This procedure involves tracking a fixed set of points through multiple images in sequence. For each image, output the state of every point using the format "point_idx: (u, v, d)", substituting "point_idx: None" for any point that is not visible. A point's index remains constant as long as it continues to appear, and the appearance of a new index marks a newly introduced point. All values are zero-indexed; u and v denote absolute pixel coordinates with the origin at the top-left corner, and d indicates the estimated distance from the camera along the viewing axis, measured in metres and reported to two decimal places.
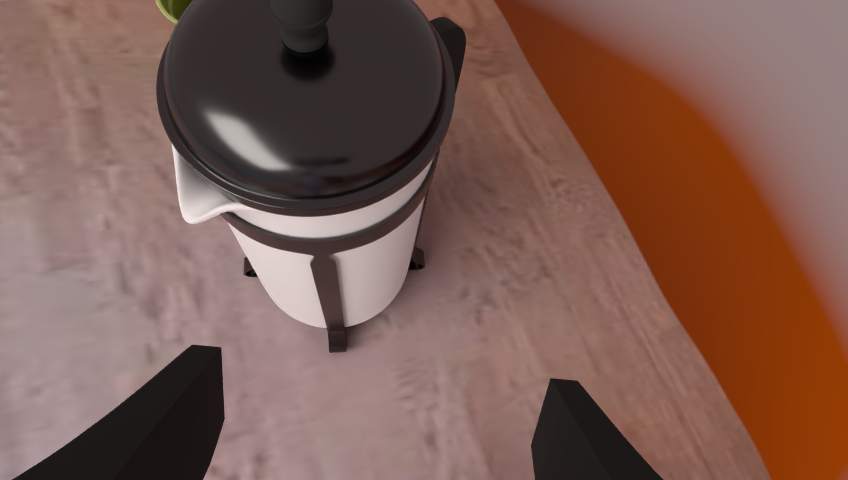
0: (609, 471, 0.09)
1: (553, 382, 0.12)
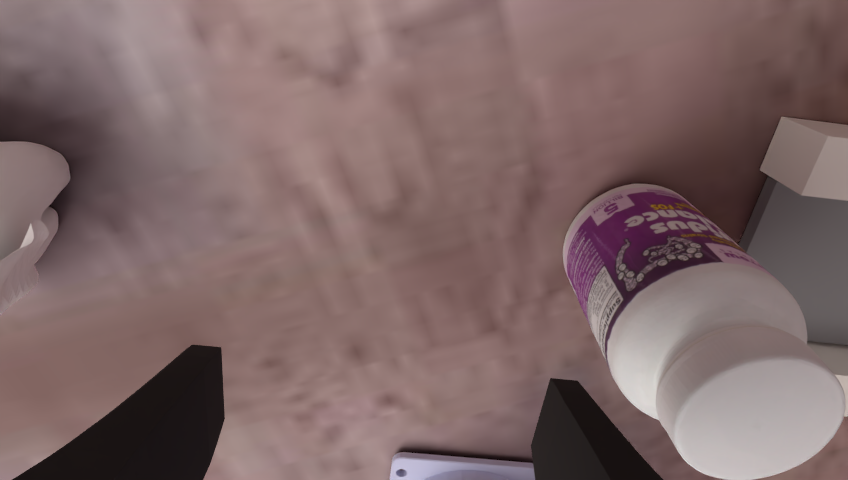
0: (609, 471, 0.09)
1: (553, 382, 0.12)
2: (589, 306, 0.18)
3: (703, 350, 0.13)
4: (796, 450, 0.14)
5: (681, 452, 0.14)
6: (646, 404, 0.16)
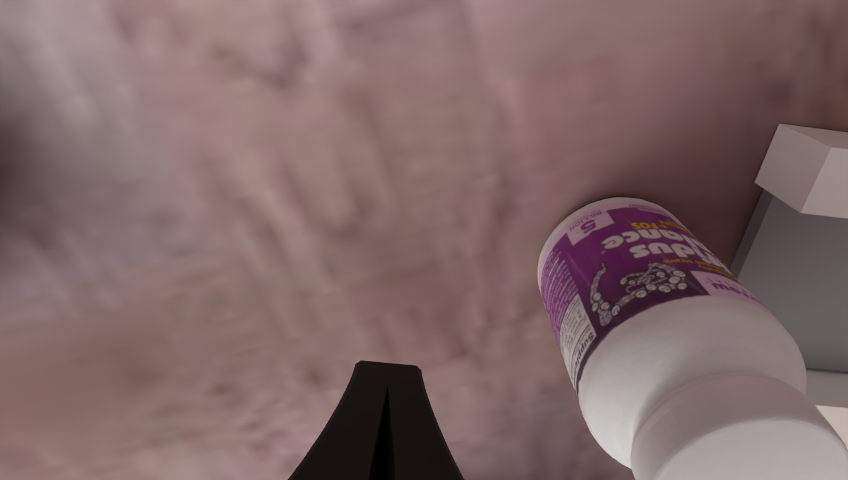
0: (398, 453, 0.09)
1: (388, 366, 0.12)
2: (561, 338, 0.16)
3: (684, 404, 0.11)
4: None
5: None
6: (622, 455, 0.14)
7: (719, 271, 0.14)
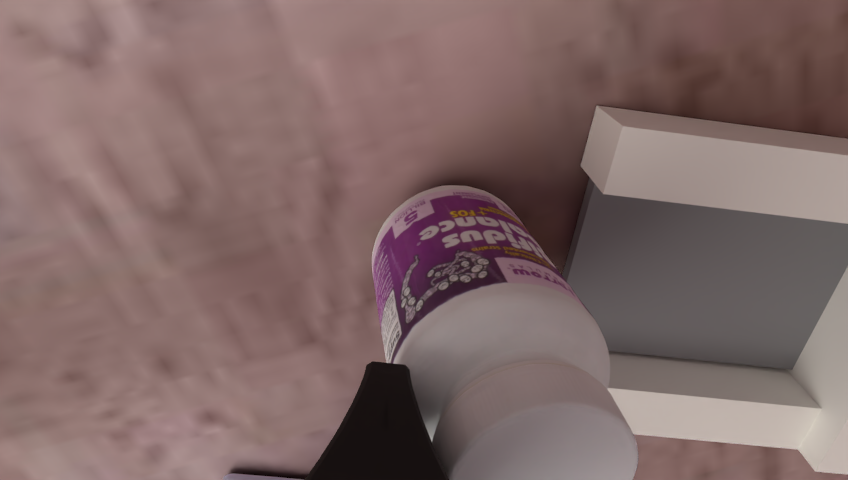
0: (382, 452, 0.09)
1: (377, 365, 0.12)
2: (382, 337, 0.15)
3: (471, 401, 0.11)
4: None
5: None
6: None
7: (526, 256, 0.14)
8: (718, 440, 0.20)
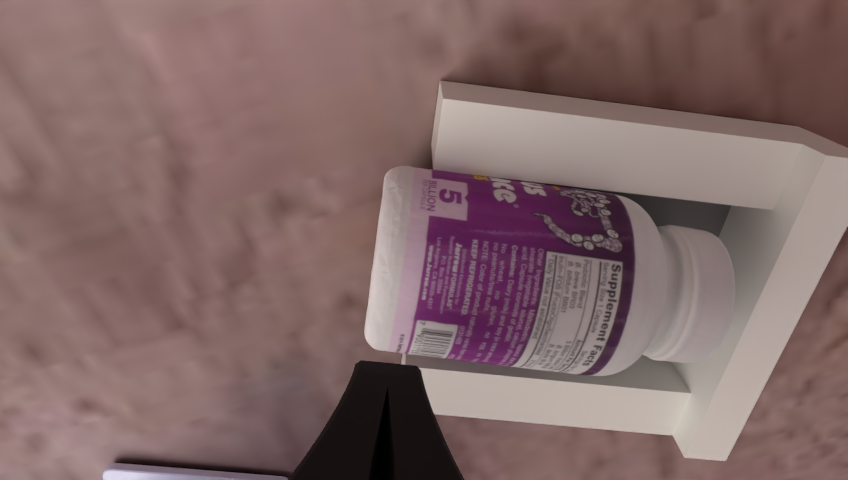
0: (398, 453, 0.09)
1: (389, 367, 0.12)
2: (547, 310, 0.14)
3: (704, 255, 0.15)
4: None
5: (715, 349, 0.15)
6: (643, 352, 0.15)
7: None
8: (588, 426, 0.20)
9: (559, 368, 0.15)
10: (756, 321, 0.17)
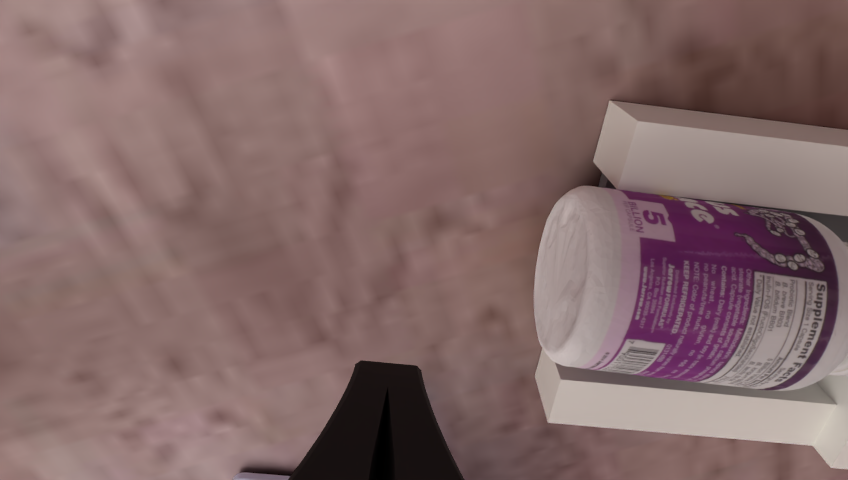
0: (398, 453, 0.09)
1: (389, 366, 0.12)
2: (755, 328, 0.14)
3: None
4: None
5: None
6: None
7: None
8: (731, 437, 0.20)
9: (747, 384, 0.15)
10: None
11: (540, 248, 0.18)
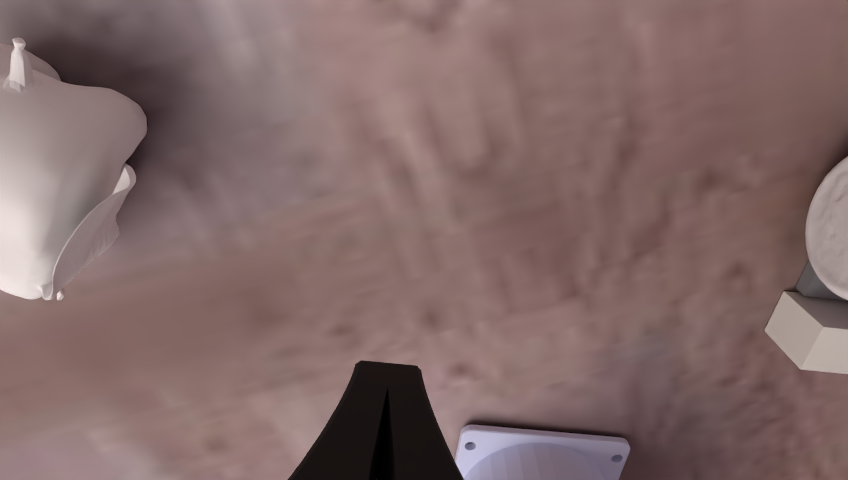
0: (398, 453, 0.09)
1: (389, 366, 0.12)
2: None
3: None
4: None
5: None
6: None
7: None
8: None
9: None
10: None
11: (813, 204, 0.20)
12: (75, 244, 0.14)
